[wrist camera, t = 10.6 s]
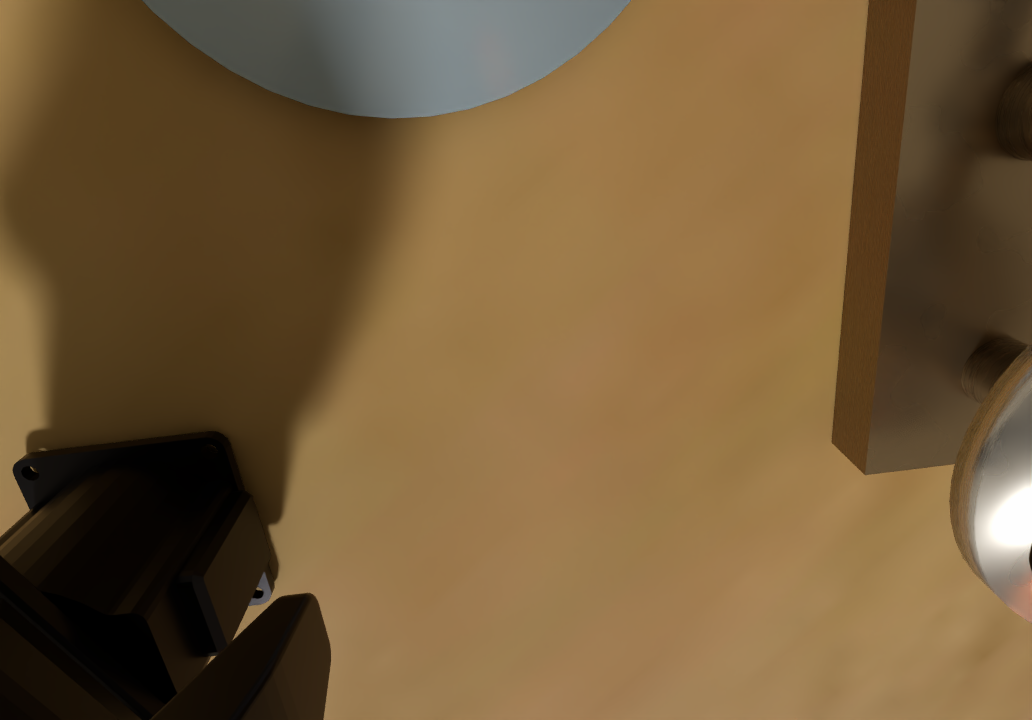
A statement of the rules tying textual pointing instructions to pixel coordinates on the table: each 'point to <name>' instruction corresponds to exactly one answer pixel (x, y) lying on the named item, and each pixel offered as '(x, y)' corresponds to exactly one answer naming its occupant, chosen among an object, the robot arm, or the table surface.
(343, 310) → the table surface
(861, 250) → the balance
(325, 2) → the dish
